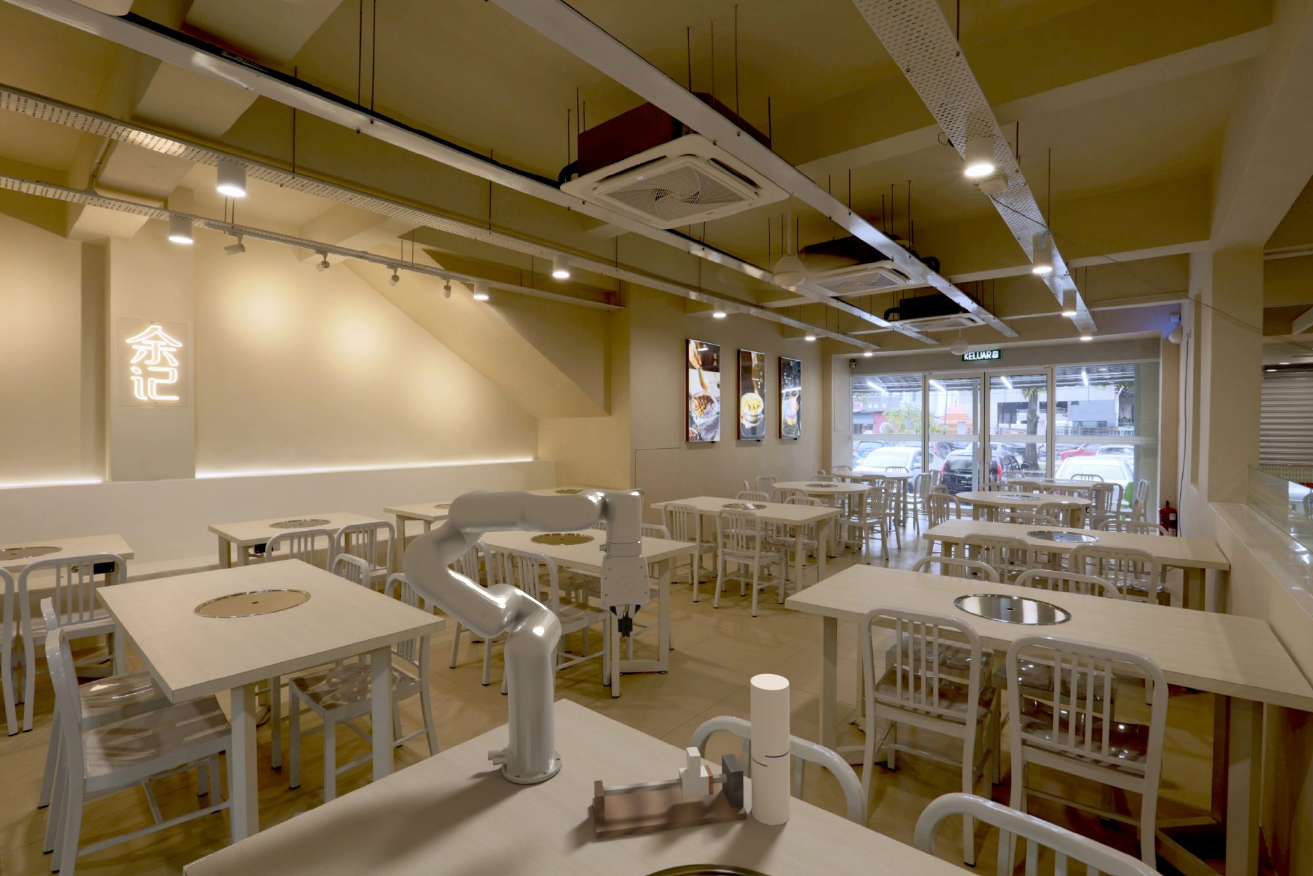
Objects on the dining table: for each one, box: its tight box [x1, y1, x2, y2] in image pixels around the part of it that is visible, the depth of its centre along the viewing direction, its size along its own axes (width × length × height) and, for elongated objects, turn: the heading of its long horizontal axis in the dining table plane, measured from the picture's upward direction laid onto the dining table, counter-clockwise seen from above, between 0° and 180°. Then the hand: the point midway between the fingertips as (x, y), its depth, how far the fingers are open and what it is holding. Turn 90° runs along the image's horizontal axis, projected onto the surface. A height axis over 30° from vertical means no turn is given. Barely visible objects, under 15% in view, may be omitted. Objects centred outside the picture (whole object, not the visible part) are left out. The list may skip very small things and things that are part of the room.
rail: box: [592, 753, 748, 840], centre depth 115 cm, size 28×10×8 cm, turn 100°
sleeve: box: [678, 746, 709, 798], centre depth 115 cm, size 5×4×8 cm
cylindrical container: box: [750, 673, 791, 826], centre depth 114 cm, size 7×7×25 cm
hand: (625, 635), depth 128 cm, fingers closed
